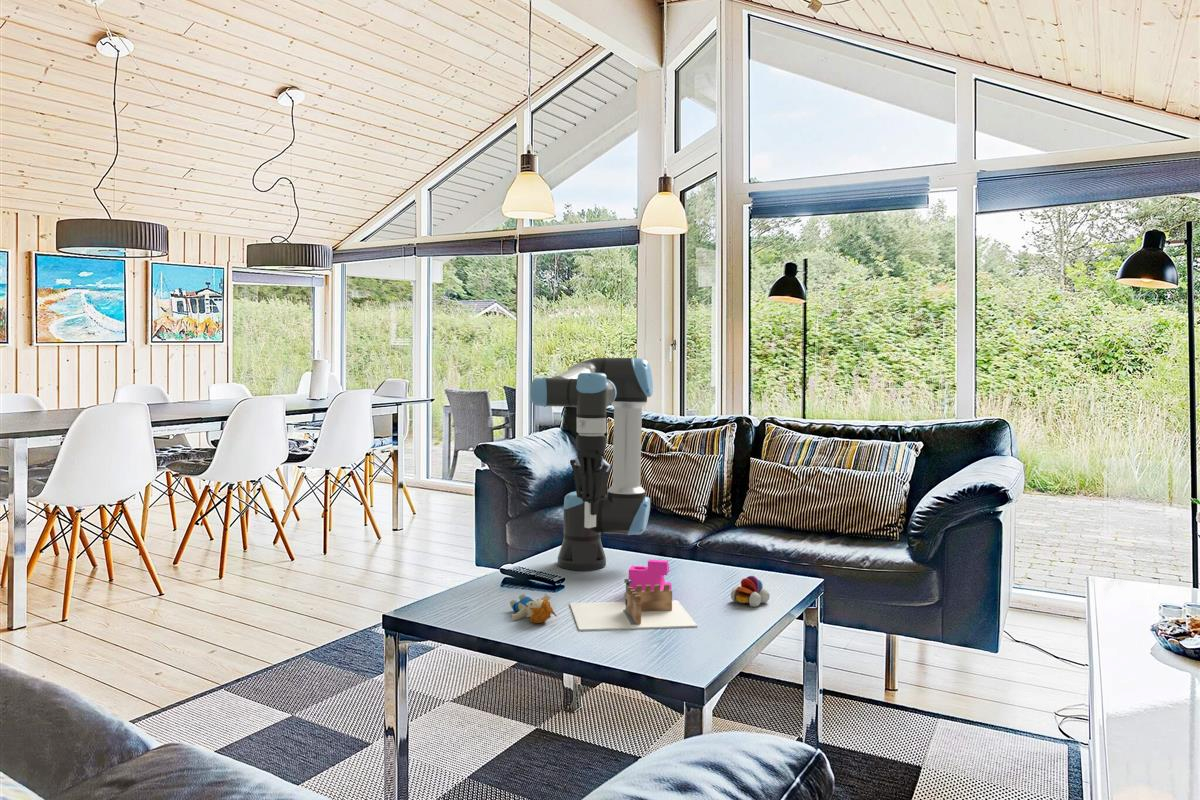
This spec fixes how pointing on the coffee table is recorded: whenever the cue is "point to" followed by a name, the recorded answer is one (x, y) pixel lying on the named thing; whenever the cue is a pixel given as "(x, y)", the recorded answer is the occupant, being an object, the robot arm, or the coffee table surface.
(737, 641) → the coffee table surface
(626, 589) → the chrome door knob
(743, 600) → the rainbow petal cluster
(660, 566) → the bracket
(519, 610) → the toy
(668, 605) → the fence fixed
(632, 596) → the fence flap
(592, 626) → the card
